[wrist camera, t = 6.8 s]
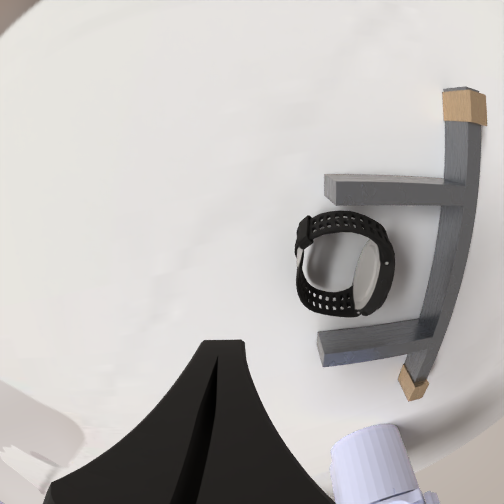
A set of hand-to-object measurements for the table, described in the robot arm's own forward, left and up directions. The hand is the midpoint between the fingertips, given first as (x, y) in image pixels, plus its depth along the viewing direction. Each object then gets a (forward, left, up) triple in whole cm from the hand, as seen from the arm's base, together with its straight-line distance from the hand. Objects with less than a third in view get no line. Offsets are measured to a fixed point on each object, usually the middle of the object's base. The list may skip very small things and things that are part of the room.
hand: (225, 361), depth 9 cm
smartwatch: (-1, -4, -6) cm, 7 cm away
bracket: (0, -9, -6) cm, 11 cm away
